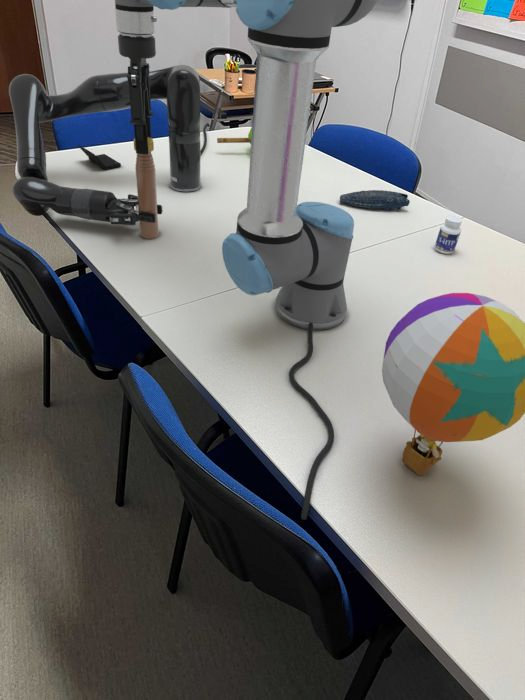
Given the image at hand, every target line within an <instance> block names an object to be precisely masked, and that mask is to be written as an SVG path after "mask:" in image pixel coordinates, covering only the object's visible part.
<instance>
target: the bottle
mask: <svg viewBox="0 0 525 700" xmlns="http://www.w3.org/2000/svg"><path fill="white" fill-rule="evenodd" d="M134 166H135V167H134V168H135V180H136V193H137V195H136V196H138V207H139V212H140V213H141V212H148V213H154V214H156V221H155V223H152V222H145V221H140V222H139V230H140V231H139V232H140V237H141V238H143V239H147V240H152V239H153V240H154V239H156V238H158V237H159V235H160V233H159V232H160V231H159V214H158V211H157V205H158V195H157V176H156V175H157V174H156V166H155V161H154V157H153V154H152V152H148V154H136V158H135V165H134Z"/></svg>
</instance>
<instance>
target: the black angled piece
mask: <svg viewBox="0 0 525 700" xmlns="http://www.w3.org/2000/svg"><path fill="white" fill-rule="evenodd" d="M77 147H78V148H79V149H80V150H81V151H82V152H83V153H84V154H85V156H87V157H88V160H89V161H90V162H92V163H93V164H96V165H97V166H98V167H99V168H102V169H103V170H111V169H115V168H116V169H117V168H121V167H122V164H121V163H120V162H119V161H117V160H116V159H114V158H112V157H110V156H109V155H107V154H105V153H102V154H95V153H93V152H92V151H90V150H88V149H87V148H85V147H83V146H82V145H80V144H77Z"/></svg>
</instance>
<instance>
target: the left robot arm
mask: <svg viewBox="0 0 525 700" xmlns="http://www.w3.org/2000/svg"><path fill="white" fill-rule="evenodd" d="M127 75H128V72H117V73H116V72H115V73H105V74H96V75H92V76H89V77H88V78H86V79H85V80H83V81H82V82H81V83H79V85H77V86H76V87H75V88H74V89H72V90H71V91H68V92H65V93H61V94H55V95H49V94H48V92H47V90H46V89H45V86H44V84H42V82H41V81H40V80H39V79H38V78H37V77H36V76H34V75H33V74H29V73H22V74H19V75H16V76H15V77H14V78H13V79H12V80H11V81H10V83H9V86H8V96H9V99H10V103H11V108H12V112H13V119H14V120H13V121H14V127H15V136H16V169H17V173H18V176H19V178H18V179H16V180H15V182H13V184H12V194H13V196H14V198H15V200H16V201H18V203H19V204H20V205H21V206H22V208H24V210H25V211H26V212H27V213H29V214H30V215H31V216H36V217H42V216H43V215H45V214H47V213H48V212H49V210H50V209H51V210H52V211H53V212H55V213H56V214H59V215H61V216H69V217H75V218H80V219H85V220H88V221H89V220H90V221H96V222H97V221H98V222H103V223H104V222H105V223H110V225H116V226H135V225H136V224H137V223H140V221H145V222H152V223H155V221H156V214H154V213H148V212H141V213H140V212H139V207H138V195H135V194H127V198H117V197H116V196H115V194H114V193H113V192H112V191H106V190H105V191H104V190H100V189H91V188H77V187H71V186H70V187H69V186H62V185H59V184H57V183H53V182H51V181H49V180H48V175H47V153H46V146H45V142H44V137H43V134H42V130H41V126H40V123H41V124H42V123H46V122H51V121H55V120H60V119H65V118H68V117H74V116H82V115H88V114H95V113H107V112H109V113H110V112H117V111H118V112H119V111H123V110H127V109H131V107H130V95H129V85H128V79H127ZM149 81H150V100H151V101H158V100H166V116H167V117H166V118H167V126H168V127H167V128H168V130H167V131H168V151H169V152H168V153H169V154H168V155H169V157H168V158H169V186H170V188H171V189H172V190H174V191H176V192H177V191H178V192H183V193H184V192H185V193H188V192H189V193H191V192H196V191H198V190H200V189H201V187H202V184H201V155H202V153H203V152H204V150H205V149H206V146H207V141H208V136H207V132H206V129H207V128H208V127H210V124H209V122H207V123H206V124H204V126H203V129H202V131H203V139H204V140H203V145H202V147H201V79H200V76H199V74H198V72H197V71H196V69H194V68H193V67H192V66H189V65H187V64H177V65H173V66H169V67H165V68H161V69H156V70H150V71H149ZM157 211H158V215H162V213H163V211H164V210H163V206H162V205H161V204H157Z"/></svg>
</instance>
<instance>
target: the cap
mask: <svg viewBox="0 0 525 700" xmlns="http://www.w3.org/2000/svg"><path fill="white" fill-rule="evenodd" d="M133 149H134V151H135V152H136V146H135V137H134V138H133ZM154 150H155V146H154V139H153V138H152V137H151V138H149V137H148V152H151V153H152V152H154Z"/></svg>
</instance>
